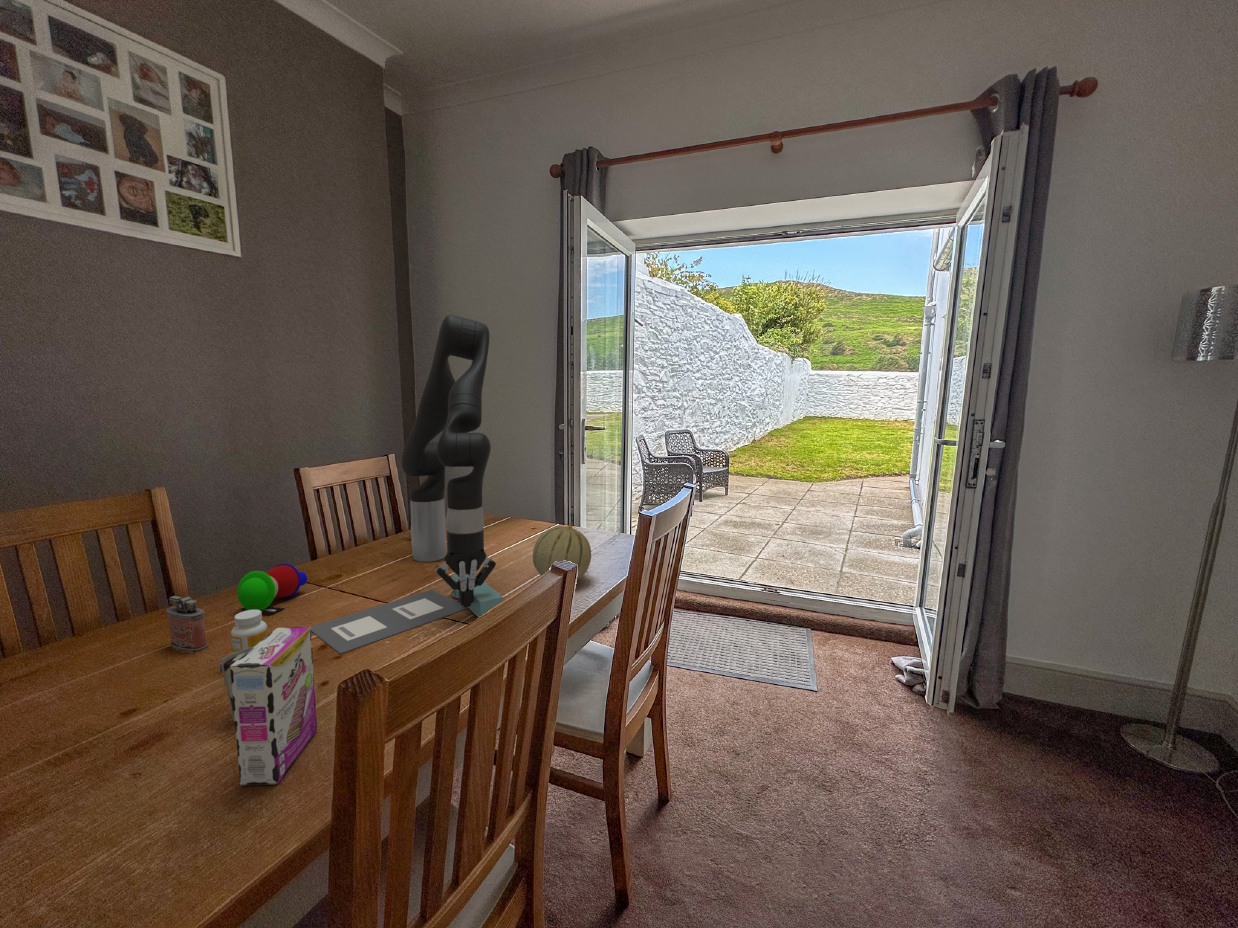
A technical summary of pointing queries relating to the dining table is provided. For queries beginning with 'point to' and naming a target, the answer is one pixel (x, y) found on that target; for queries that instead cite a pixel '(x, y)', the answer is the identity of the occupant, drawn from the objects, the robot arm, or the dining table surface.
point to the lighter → (186, 625)
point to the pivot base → (454, 595)
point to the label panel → (385, 620)
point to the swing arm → (482, 598)
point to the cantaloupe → (562, 549)
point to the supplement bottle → (248, 630)
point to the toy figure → (269, 587)
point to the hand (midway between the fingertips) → (466, 605)
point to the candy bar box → (273, 704)
